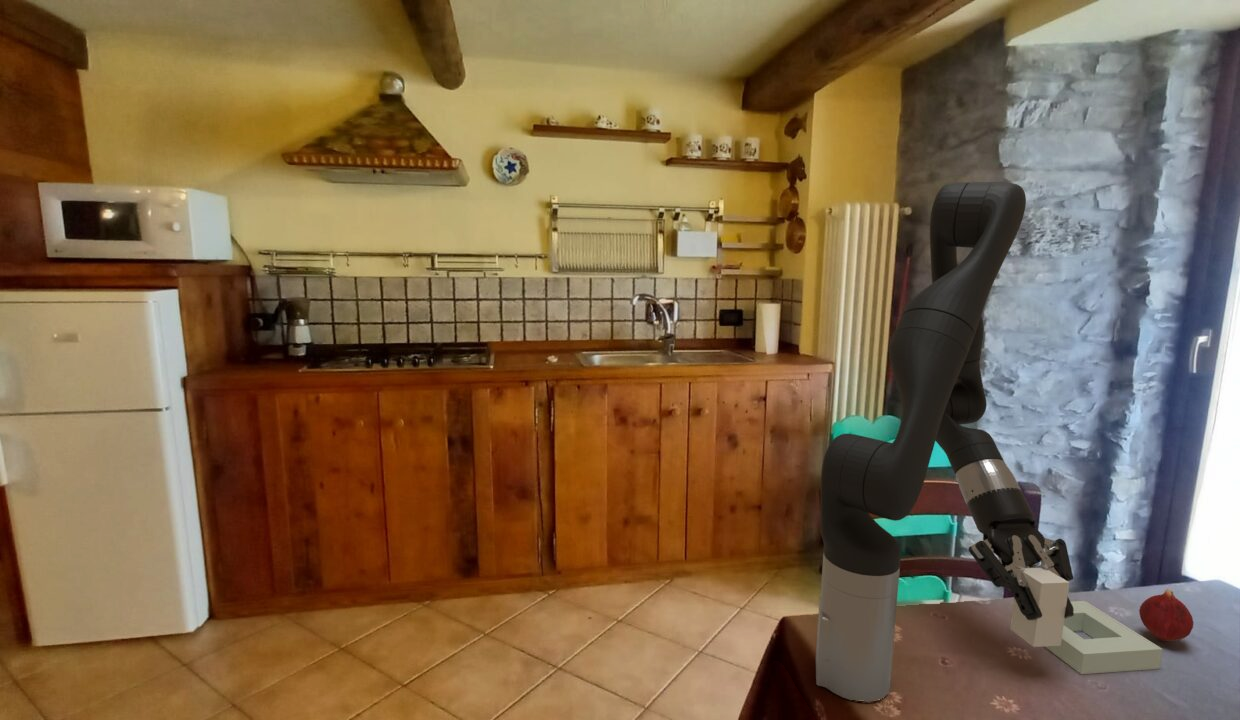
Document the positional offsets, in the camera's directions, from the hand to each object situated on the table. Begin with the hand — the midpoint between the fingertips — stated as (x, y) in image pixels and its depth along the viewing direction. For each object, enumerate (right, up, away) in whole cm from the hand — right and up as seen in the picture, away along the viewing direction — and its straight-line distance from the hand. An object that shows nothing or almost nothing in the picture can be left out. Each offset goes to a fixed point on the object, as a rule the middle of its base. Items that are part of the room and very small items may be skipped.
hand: (1050, 617), depth 76 cm
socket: (+11, -8, +9) cm, 17 cm away
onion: (+24, -8, +10) cm, 27 cm away
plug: (0, -4, +2) cm, 5 cm away
